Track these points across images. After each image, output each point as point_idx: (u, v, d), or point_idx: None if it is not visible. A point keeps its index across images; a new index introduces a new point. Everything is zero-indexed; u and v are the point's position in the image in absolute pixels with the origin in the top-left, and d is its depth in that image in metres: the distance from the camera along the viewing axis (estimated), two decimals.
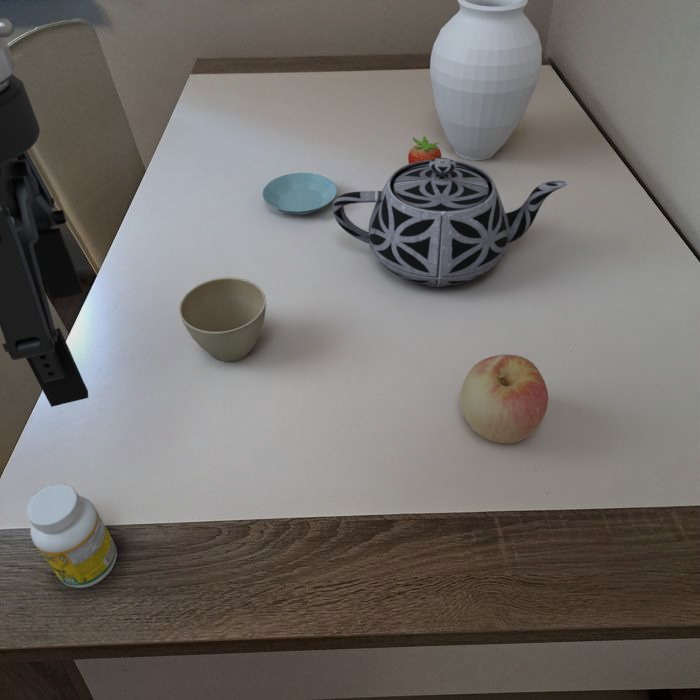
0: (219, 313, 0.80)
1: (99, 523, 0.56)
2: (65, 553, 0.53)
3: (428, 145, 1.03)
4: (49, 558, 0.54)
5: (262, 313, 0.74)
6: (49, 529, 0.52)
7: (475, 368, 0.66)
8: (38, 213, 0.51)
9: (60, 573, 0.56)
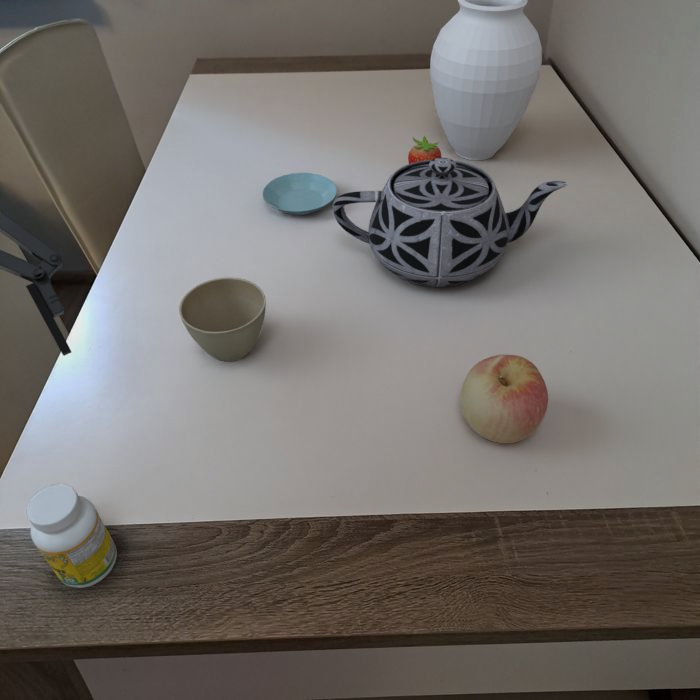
0: (219, 313, 0.80)
1: (99, 523, 0.56)
2: (65, 553, 0.53)
3: (428, 145, 1.03)
4: (49, 558, 0.54)
5: (262, 313, 0.74)
6: (49, 529, 0.52)
7: (475, 368, 0.66)
8: None
9: (60, 573, 0.56)
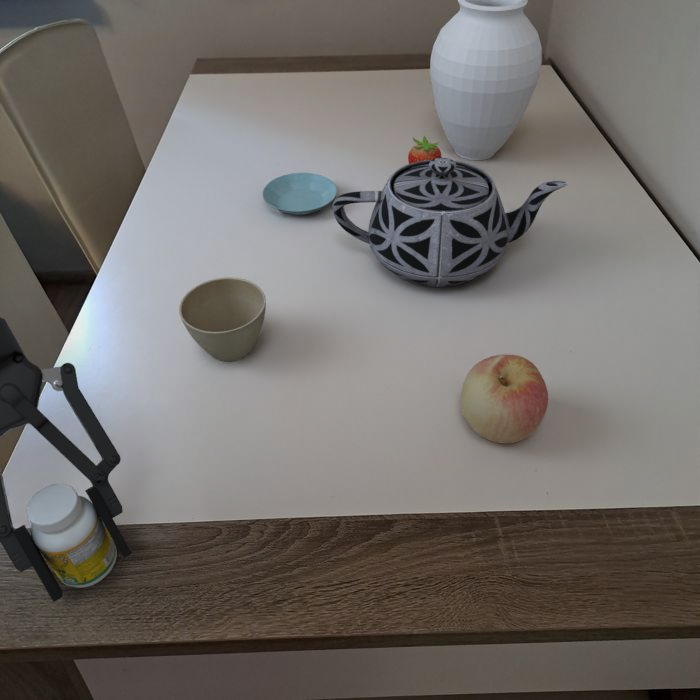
0: (219, 313, 0.80)
1: (99, 523, 0.56)
2: (65, 553, 0.53)
3: (428, 145, 1.03)
4: (49, 558, 0.54)
5: (262, 313, 0.74)
6: (49, 529, 0.52)
7: (475, 368, 0.66)
8: (4, 488, 0.54)
9: (60, 573, 0.56)
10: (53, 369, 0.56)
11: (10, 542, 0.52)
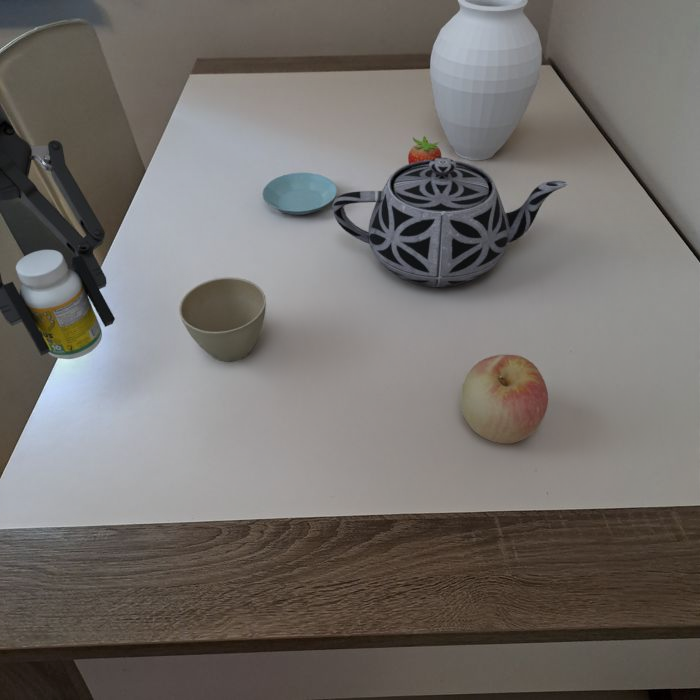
0: (219, 313, 0.80)
1: (84, 292, 0.59)
2: (52, 311, 0.57)
3: (428, 145, 1.03)
4: (37, 317, 0.58)
5: (262, 313, 0.74)
6: (36, 282, 0.56)
7: (475, 368, 0.66)
8: None
9: (48, 339, 0.60)
10: (42, 147, 0.59)
11: (0, 295, 0.56)
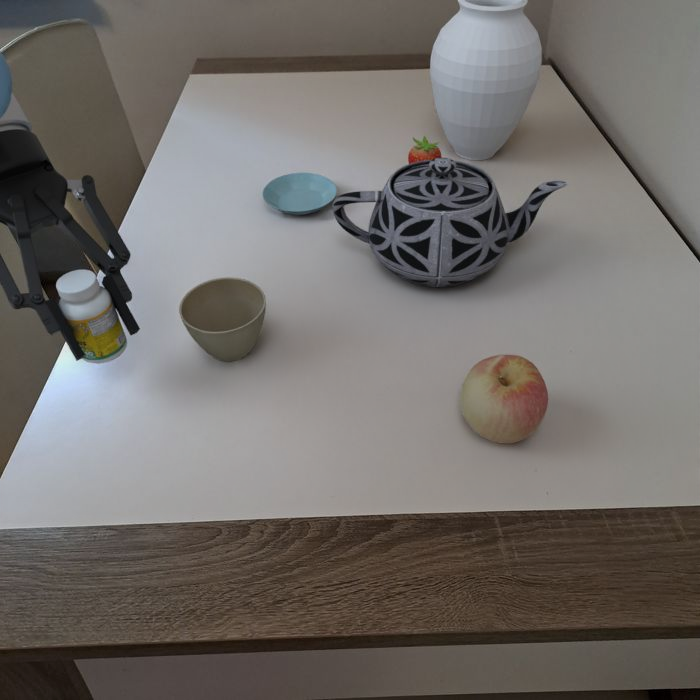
0: (219, 313, 0.80)
1: (113, 306, 0.69)
2: (87, 322, 0.67)
3: (428, 145, 1.03)
4: (73, 328, 0.67)
5: (262, 313, 0.74)
6: (74, 298, 0.65)
7: (475, 368, 0.66)
8: None
9: (82, 346, 0.69)
10: (76, 180, 0.69)
11: (43, 309, 0.65)
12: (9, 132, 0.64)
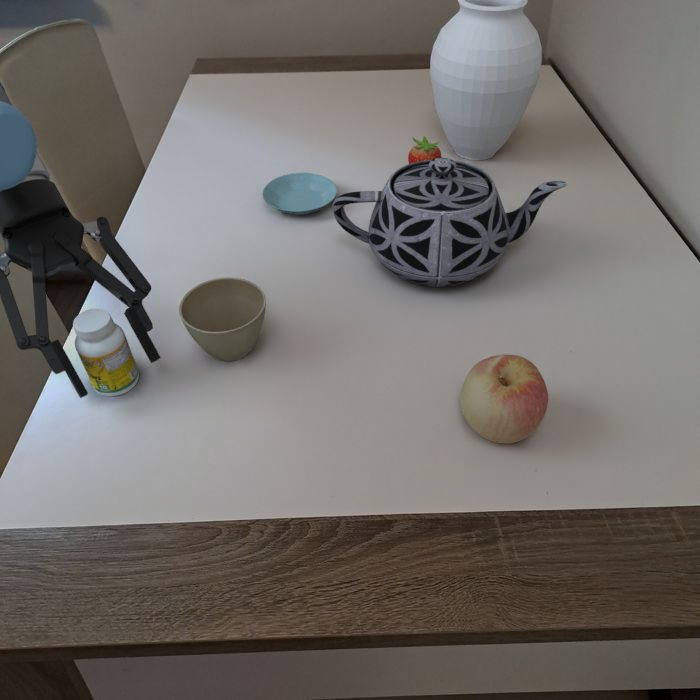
0: (219, 313, 0.80)
1: (126, 342, 0.73)
2: (102, 359, 0.70)
3: (428, 145, 1.03)
4: (89, 364, 0.71)
5: (262, 313, 0.74)
6: (90, 337, 0.69)
7: (475, 368, 0.66)
8: None
9: (96, 380, 0.73)
10: (91, 223, 0.72)
11: (48, 350, 0.69)
12: (30, 183, 0.68)
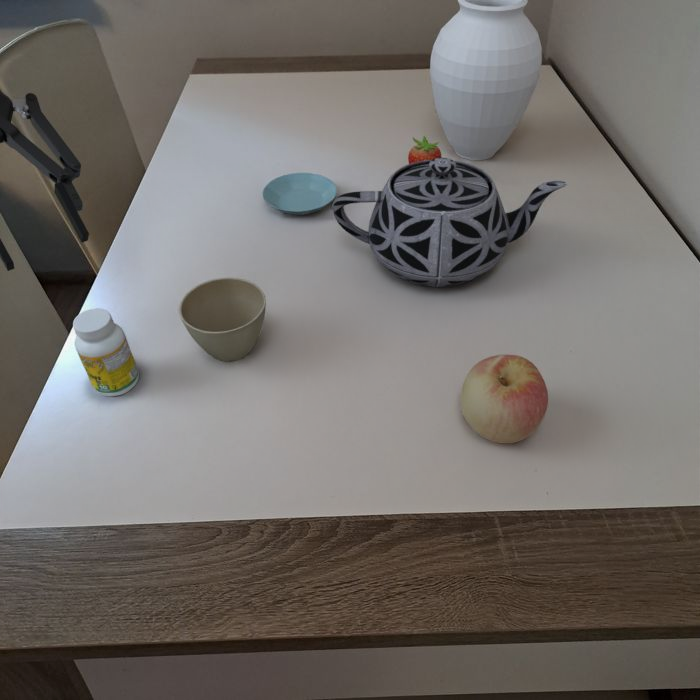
0: (219, 313, 0.80)
1: (126, 342, 0.73)
2: (102, 359, 0.70)
3: (428, 145, 1.03)
4: (89, 364, 0.71)
5: (262, 313, 0.74)
6: (90, 337, 0.69)
7: (475, 368, 0.66)
8: None
9: (96, 380, 0.73)
10: (20, 99, 0.73)
11: None
12: None
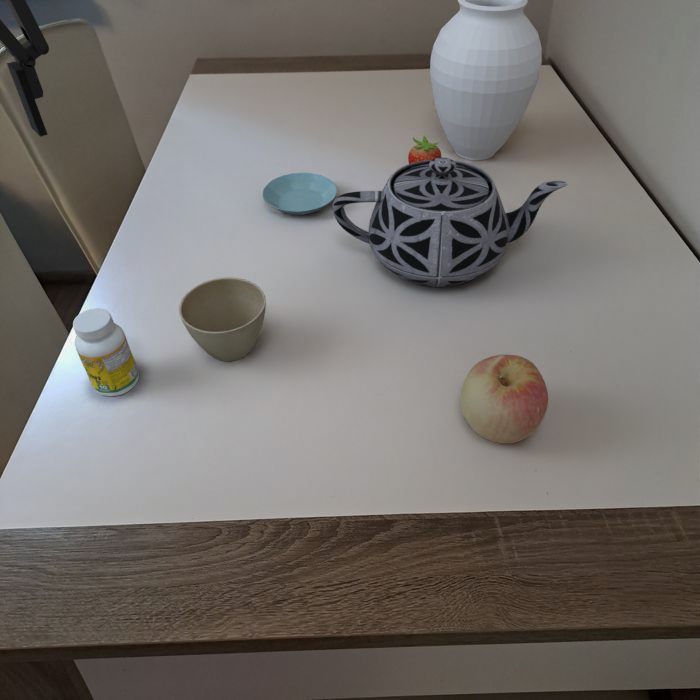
0: (219, 313, 0.80)
1: (126, 342, 0.73)
2: (102, 359, 0.70)
3: (428, 145, 1.03)
4: (89, 364, 0.71)
5: (262, 313, 0.74)
6: (90, 337, 0.69)
7: (475, 368, 0.66)
8: None
9: (96, 380, 0.73)
10: None
11: None
12: None
